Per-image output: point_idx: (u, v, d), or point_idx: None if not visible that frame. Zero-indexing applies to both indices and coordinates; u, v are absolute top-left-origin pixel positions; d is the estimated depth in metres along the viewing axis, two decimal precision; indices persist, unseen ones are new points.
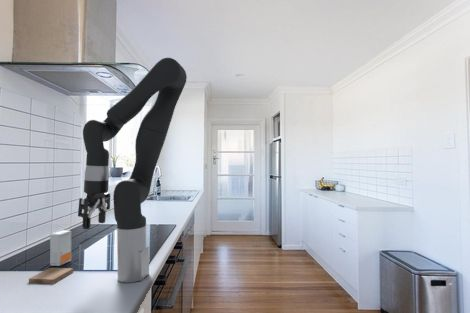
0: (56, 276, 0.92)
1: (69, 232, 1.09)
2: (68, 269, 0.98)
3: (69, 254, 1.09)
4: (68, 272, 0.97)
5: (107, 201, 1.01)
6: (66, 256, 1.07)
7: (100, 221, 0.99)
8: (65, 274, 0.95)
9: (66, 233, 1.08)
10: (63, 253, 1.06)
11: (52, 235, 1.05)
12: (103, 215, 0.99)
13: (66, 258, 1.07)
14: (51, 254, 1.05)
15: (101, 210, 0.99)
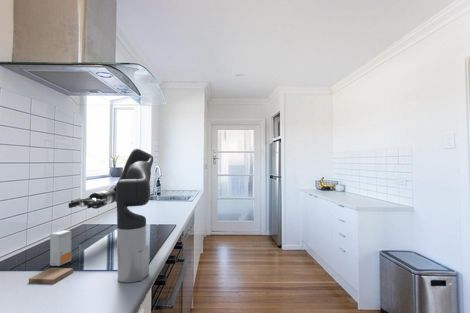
0: (56, 276, 0.92)
1: (69, 232, 1.09)
2: (68, 269, 0.98)
3: (69, 254, 1.09)
4: (68, 272, 0.97)
5: None
6: (66, 256, 1.07)
7: None
8: (65, 274, 0.95)
9: (66, 233, 1.08)
10: (63, 253, 1.06)
11: (52, 235, 1.05)
12: None
13: (66, 258, 1.07)
14: (51, 254, 1.05)
15: None
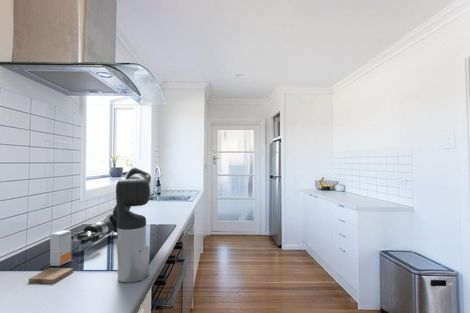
0: (56, 276, 0.92)
1: (69, 232, 1.09)
2: (68, 269, 0.98)
3: (69, 254, 1.09)
4: (68, 272, 0.97)
5: None
6: (66, 256, 1.07)
7: None
8: (65, 274, 0.95)
9: (66, 233, 1.08)
10: (63, 253, 1.06)
11: (52, 235, 1.05)
12: None
13: (66, 258, 1.07)
14: (51, 254, 1.05)
15: None
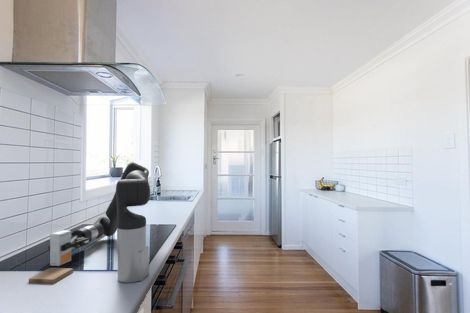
0: (56, 276, 0.92)
1: (69, 232, 1.09)
2: (68, 269, 0.98)
3: (69, 254, 1.09)
4: (68, 272, 0.97)
5: None
6: (66, 256, 1.07)
7: None
8: (65, 274, 0.95)
9: (66, 233, 1.08)
10: (63, 253, 1.06)
11: (52, 235, 1.05)
12: None
13: (66, 258, 1.07)
14: (51, 254, 1.05)
15: None
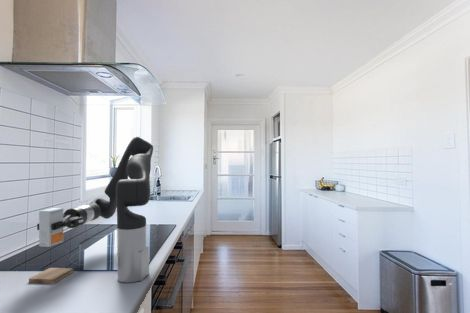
0: (56, 276, 0.92)
1: (61, 209, 0.97)
2: (68, 269, 0.98)
3: (61, 234, 0.97)
4: (68, 272, 0.97)
5: None
6: (57, 236, 0.95)
7: None
8: (65, 274, 0.95)
9: (57, 210, 0.95)
10: (54, 232, 0.94)
11: (41, 212, 0.92)
12: None
13: (57, 239, 0.95)
14: (40, 233, 0.92)
15: None
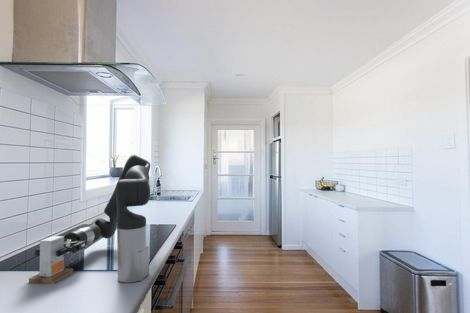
0: (56, 276, 0.92)
1: (61, 238, 0.97)
2: (68, 269, 0.98)
3: (61, 263, 0.96)
4: (68, 272, 0.97)
5: None
6: (57, 265, 0.95)
7: None
8: (65, 274, 0.95)
9: (58, 239, 0.95)
10: (54, 262, 0.94)
11: (42, 242, 0.92)
12: None
13: (58, 268, 0.95)
14: (41, 263, 0.92)
15: None
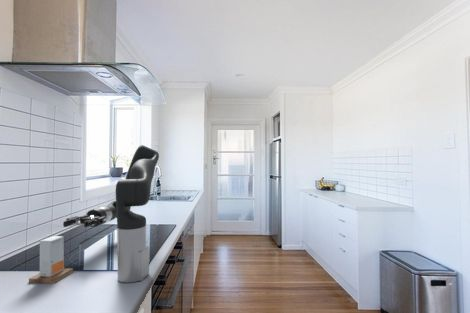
0: (56, 276, 0.92)
1: (61, 238, 0.97)
2: (68, 269, 0.98)
3: (61, 263, 0.97)
4: (68, 272, 0.97)
5: None
6: (57, 265, 0.95)
7: None
8: (65, 274, 0.95)
9: (58, 239, 0.95)
10: (54, 262, 0.94)
11: (42, 242, 0.92)
12: None
13: (58, 268, 0.95)
14: (41, 263, 0.92)
15: None
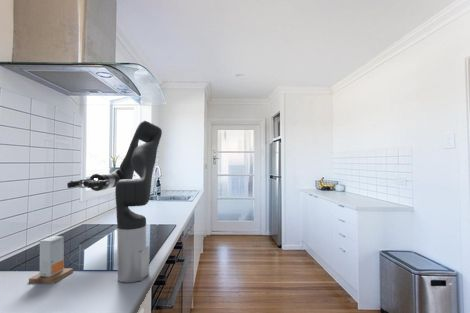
0: (56, 276, 0.92)
1: (61, 238, 0.97)
2: (68, 269, 0.98)
3: (61, 263, 0.97)
4: (68, 272, 0.97)
5: None
6: (57, 265, 0.95)
7: None
8: (65, 274, 0.95)
9: (58, 239, 0.95)
10: (54, 262, 0.94)
11: (42, 242, 0.92)
12: None
13: (58, 268, 0.95)
14: (41, 263, 0.92)
15: None
